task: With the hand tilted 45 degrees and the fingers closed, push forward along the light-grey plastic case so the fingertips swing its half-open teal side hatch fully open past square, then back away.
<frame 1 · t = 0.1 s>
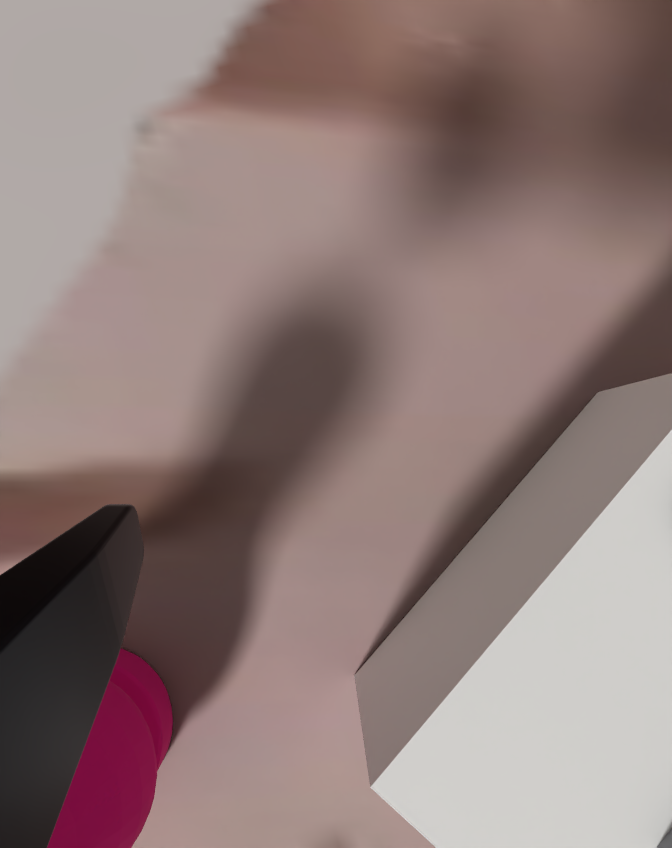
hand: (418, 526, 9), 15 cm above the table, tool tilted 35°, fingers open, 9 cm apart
pepper mill: (99, 718, 23), on the table
case: (540, 585, 24), on the table
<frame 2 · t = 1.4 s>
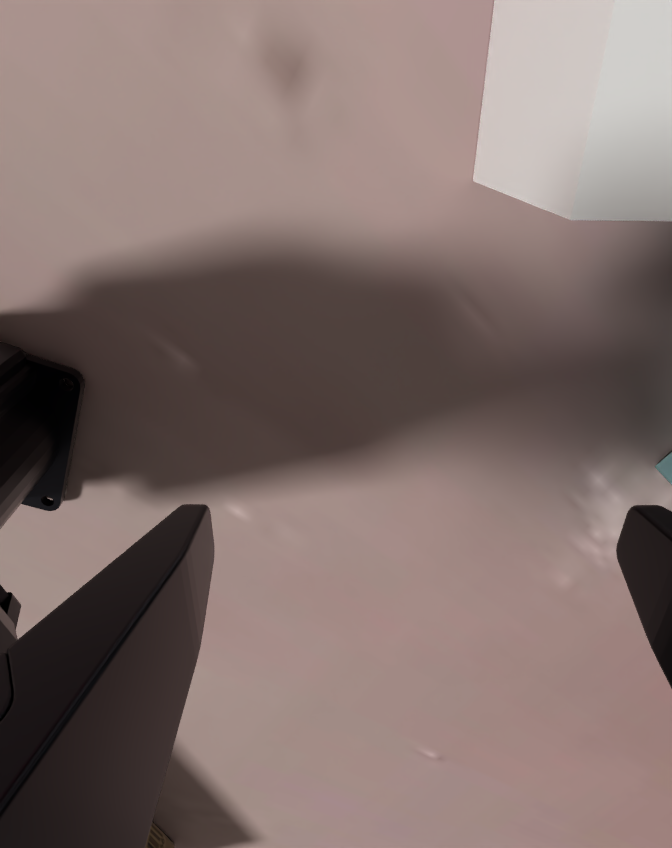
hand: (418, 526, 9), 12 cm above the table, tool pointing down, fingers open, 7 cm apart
beverage carton: (48, 771, 33), on the table
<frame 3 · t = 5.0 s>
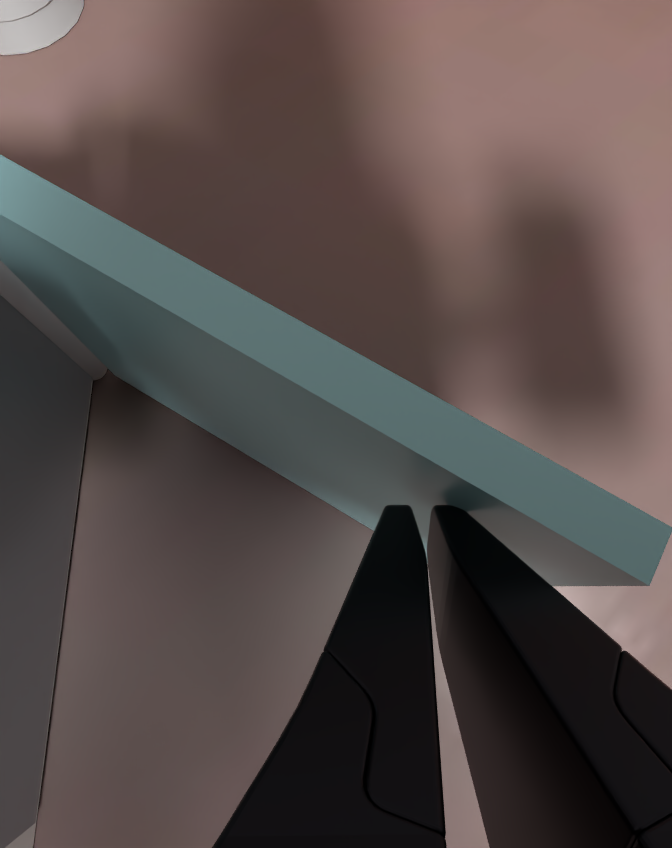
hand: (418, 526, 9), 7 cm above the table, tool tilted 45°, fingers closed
chalice: (19, 9, 21), on the table
hatch: (289, 400, 12), point 5 cm above the table, hinge at 59.1°, touching gripper
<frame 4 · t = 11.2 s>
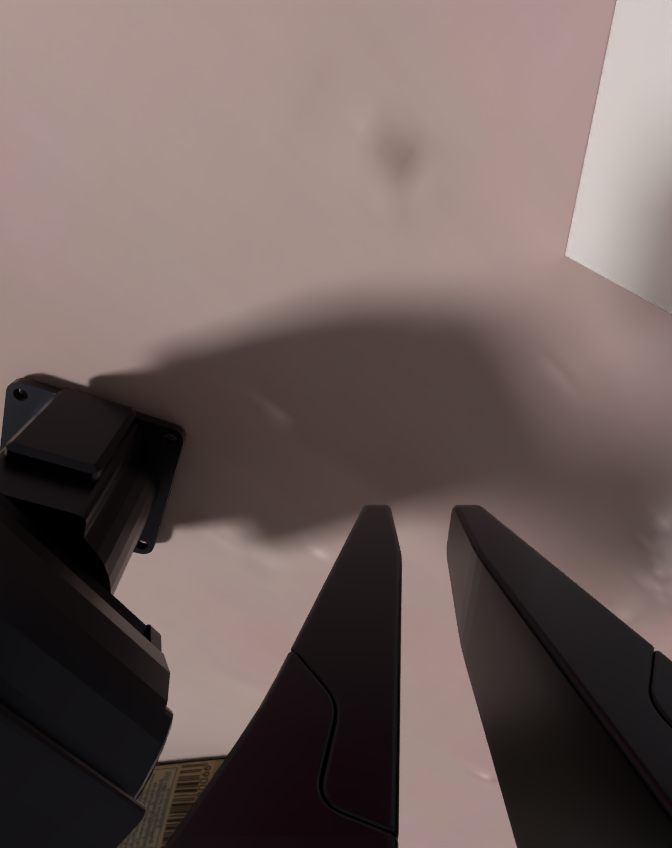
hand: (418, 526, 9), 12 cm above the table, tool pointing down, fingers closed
beverage carton: (107, 797, 35), on the table
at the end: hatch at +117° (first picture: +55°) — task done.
